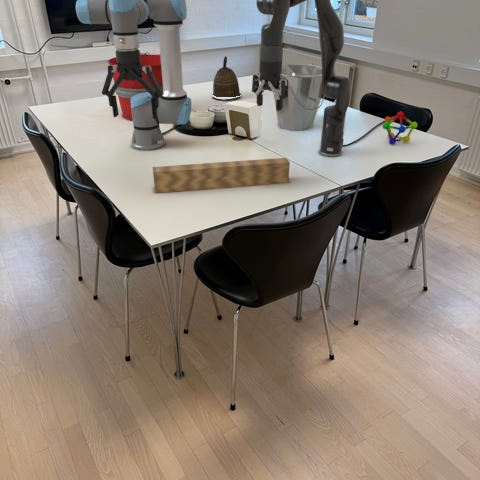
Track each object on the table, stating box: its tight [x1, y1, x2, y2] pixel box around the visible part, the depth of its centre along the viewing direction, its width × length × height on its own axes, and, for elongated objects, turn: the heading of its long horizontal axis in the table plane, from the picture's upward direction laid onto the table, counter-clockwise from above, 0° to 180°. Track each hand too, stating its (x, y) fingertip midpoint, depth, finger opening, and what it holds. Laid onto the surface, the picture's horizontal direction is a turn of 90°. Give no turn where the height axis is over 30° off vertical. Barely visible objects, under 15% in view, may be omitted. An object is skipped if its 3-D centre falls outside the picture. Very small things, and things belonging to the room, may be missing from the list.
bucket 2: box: [273, 63, 325, 131], centre depth 226 cm, size 30×30×28 cm
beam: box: [152, 157, 291, 194], centre depth 168 cm, size 51×5×8 cm, turn 101°
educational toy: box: [382, 110, 418, 145], centre depth 207 cm, size 16×13×15 cm
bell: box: [212, 56, 242, 97], centre depth 278 cm, size 19×26×20 cm
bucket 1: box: [104, 51, 163, 121], centre depth 240 cm, size 35×35×30 cm
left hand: (135, 116), depth 150 cm, fingers open, 13 cm apart
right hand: (269, 107), depth 155 cm, fingers open, 8 cm apart
